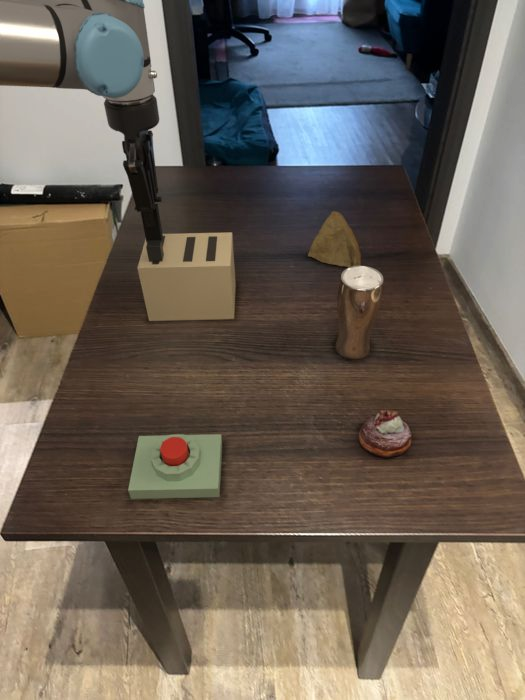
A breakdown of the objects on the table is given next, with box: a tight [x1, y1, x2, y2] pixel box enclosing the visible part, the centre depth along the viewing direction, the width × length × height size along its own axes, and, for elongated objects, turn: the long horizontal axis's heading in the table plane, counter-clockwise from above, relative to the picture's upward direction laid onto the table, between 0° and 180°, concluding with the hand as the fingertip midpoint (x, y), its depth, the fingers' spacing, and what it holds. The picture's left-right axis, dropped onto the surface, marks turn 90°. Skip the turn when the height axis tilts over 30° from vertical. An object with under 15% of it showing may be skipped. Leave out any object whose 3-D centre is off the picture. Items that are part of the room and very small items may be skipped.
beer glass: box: [334, 265, 384, 360], centre depth 87 cm, size 7×7×15 cm
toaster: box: [137, 231, 236, 322], centre depth 98 cm, size 16×11×12 cm
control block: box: [127, 433, 223, 500], centre depth 73 cm, size 12×9×4 cm
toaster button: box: [146, 240, 164, 261], centre depth 91 cm, size 2×2×3 cm
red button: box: [160, 437, 188, 466], centre depth 71 cm, size 4×4×2 cm
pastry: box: [358, 409, 413, 459], centre depth 76 cm, size 8×8×5 cm
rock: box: [307, 210, 362, 268], centre depth 109 cm, size 11×9×10 cm
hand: (154, 240), depth 92 cm, fingers closed
